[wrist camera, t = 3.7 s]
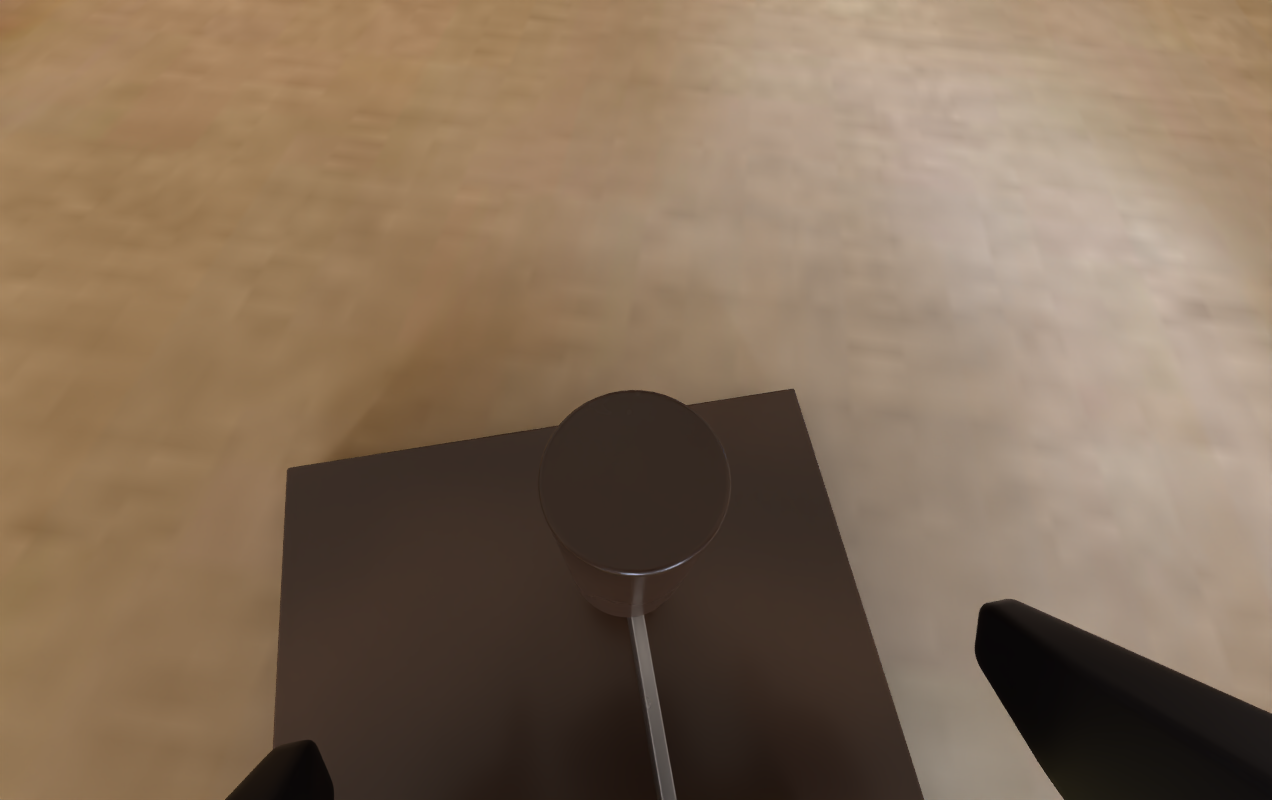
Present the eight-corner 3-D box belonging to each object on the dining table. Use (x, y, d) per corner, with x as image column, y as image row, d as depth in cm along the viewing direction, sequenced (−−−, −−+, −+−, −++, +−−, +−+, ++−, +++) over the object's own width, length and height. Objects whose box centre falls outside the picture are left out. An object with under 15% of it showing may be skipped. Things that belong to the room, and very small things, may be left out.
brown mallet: (721, 820, 15) (878, 1044, 6) (615, 844, 14) (613, 1118, 6) (662, 523, 18) (707, 375, 9) (572, 539, 17) (526, 402, 8)
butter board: (1034, 1230, 13) (1083, 1294, 12) (273, 1469, 12) (228, 1574, 10) (783, 405, 21) (794, 387, 20) (309, 481, 20) (285, 467, 18)
